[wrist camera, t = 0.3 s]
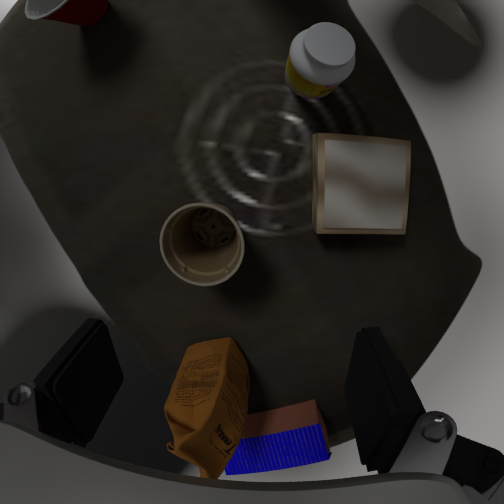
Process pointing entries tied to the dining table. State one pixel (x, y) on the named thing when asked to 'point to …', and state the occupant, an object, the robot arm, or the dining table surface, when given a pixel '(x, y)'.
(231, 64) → the dining table surface
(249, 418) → the house
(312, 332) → the dining table surface
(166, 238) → the flower pot
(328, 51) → the supplement bottle
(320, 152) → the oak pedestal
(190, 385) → the coffee package
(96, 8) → the plastic cup
